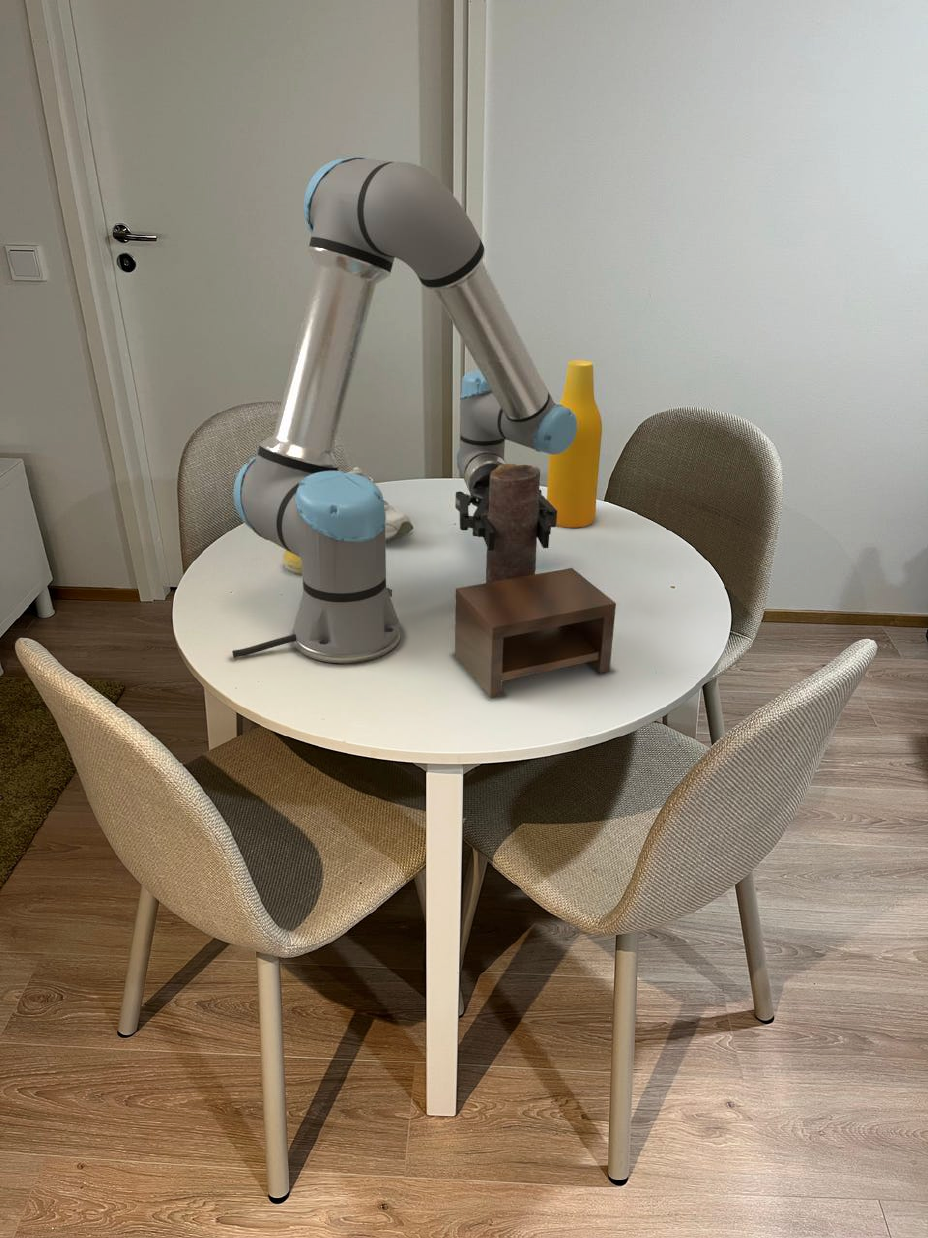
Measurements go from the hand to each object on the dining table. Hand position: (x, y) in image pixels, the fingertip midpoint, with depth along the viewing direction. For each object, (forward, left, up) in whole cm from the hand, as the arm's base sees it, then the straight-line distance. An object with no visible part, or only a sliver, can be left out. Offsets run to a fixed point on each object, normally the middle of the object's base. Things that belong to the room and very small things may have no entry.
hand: (519, 540), depth 138 cm
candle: (+1, +5, -11) cm, 12 cm away
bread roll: (-22, +33, -14) cm, 42 cm away
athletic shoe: (-9, +45, -14) cm, 48 cm away
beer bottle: (+28, +35, -14) cm, 47 cm away
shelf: (-2, -10, -14) cm, 17 cm away
